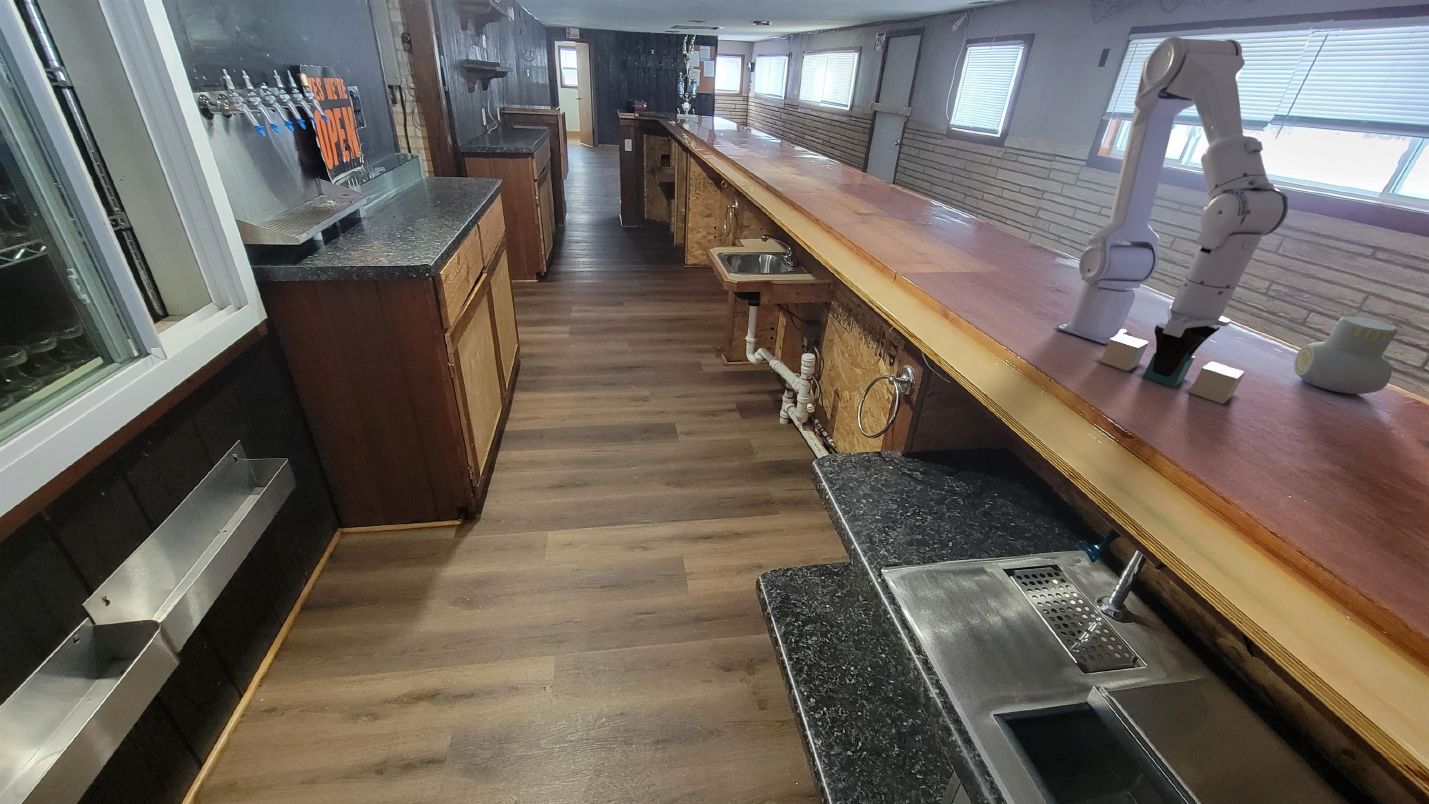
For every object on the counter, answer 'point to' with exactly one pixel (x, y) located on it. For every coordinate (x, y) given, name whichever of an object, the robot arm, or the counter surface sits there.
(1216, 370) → the line block
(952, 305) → the counter surface
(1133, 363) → the line block
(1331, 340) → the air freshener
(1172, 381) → the teal block
